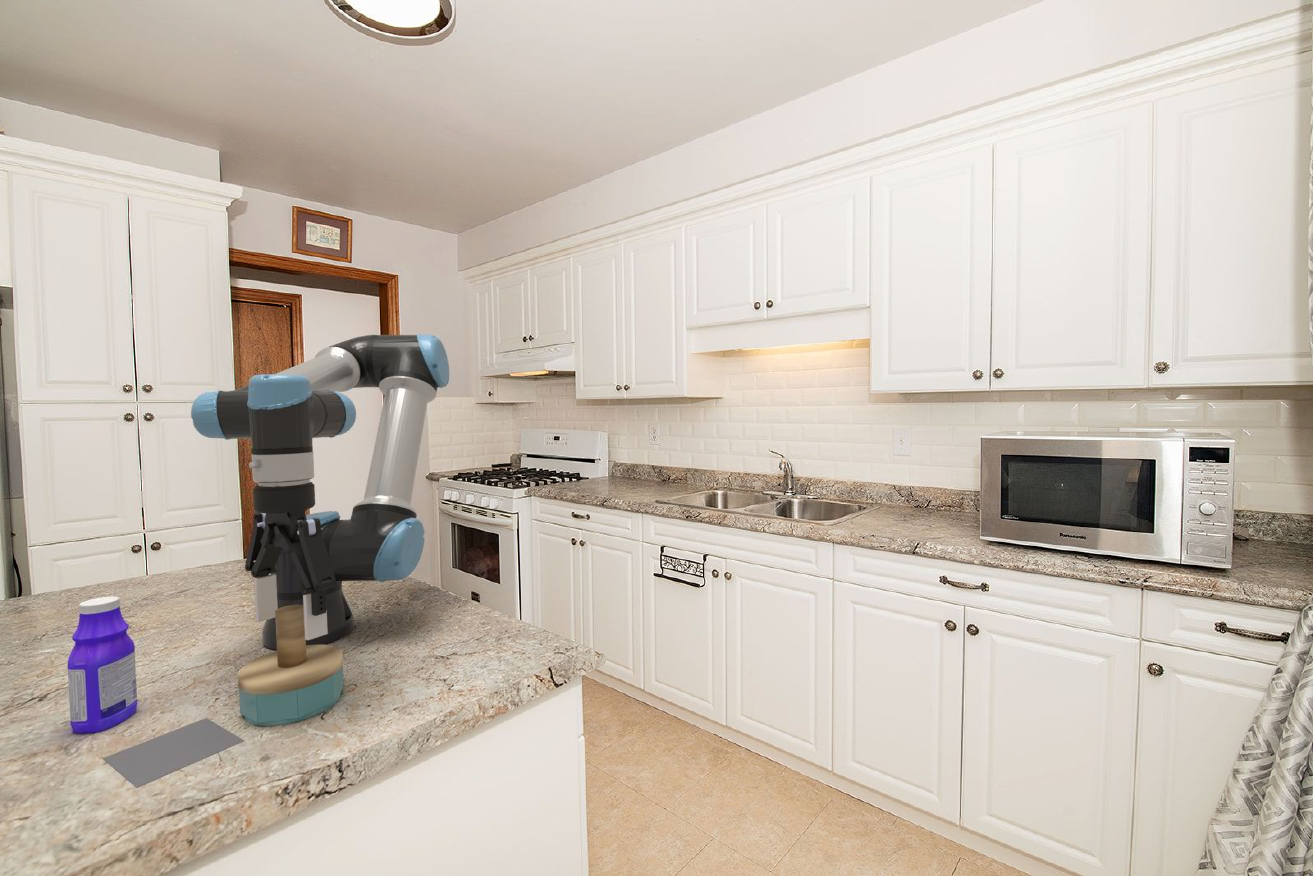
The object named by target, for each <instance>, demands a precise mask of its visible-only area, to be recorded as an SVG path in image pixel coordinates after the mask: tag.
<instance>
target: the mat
mask: <svg viewBox="0 0 1313 876" xmlns="http://www.w3.org/2000/svg"><path fill="white" fill-rule="evenodd" d="M243 742H245V739H242V738H241V737H239V736H237V735H236V734H234V733H233V732H231V731H229V730H227V729H226V728H224V727H222V726H221V725H219V724H217V723H216V722H214V721H213V720H211V719H210V718H208V717H205V718H202V719H200V720H197V721H195V722H192V723H190V724H187V725H185V726H182V727H178V728H177V729H174V730H172V731H169V732H167V733H164V734H162V735H159V736H156V737H153V738H151V739H149V740H146V741H143V742H141V743H138V744H135V745H133V746H130V747H127V748H126V749H123V750H120V751H117V752H115V753H112V754H109V755H108V756H105V757H103V758H102V760H104V761H105V763H107V764H108V765H109V766H110V767H112V768H113V769H114V770H116V772H118V773H119V774H120V775H121V776H122V777H124V778H125V779H126V780H127V781H128V782H129V783H130V784H131V785H132V786H134V787H135V788H140V787H143V786H145V785H147V784H150V783H151V782H154V781H156V780H159V779H160V778H163V777H165V776H168V775H170V774H173V773H174V772H176V771H177V772H178V771H179V770H181V769H184V768H186V767H189V766H190V765H193V764H195V763H197V762H199V761H202V760H204V759H207V758H208V757H211V756H213V755H215V754H218V753H220V752H222V751H225V750H227V749H229V748H231V747H234V746H237V745H239V744H240V743H243Z"/></svg>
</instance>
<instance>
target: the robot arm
mask: <svg viewBox="0 0 1313 876" xmlns="http://www.w3.org/2000/svg"><path fill="white" fill-rule="evenodd" d="M449 382H450V366H449V359H448V355H447V351H446V347H445V346H444V344H443V342H442V341H441V339H440V338H439V337H437V336H436V335H432V334H421V333H416V334H368V335H361V336H356V337H353V338H350V339H347V340H344V341H341V342H338V343H336V344H332V345H329V346H328V347H325V348H322V349H320V350H319V351H318V352H317V353H316V354H315V356H314V358H311V359H309V360H307V361H305V362H302V363H301V362H300V363H299V364H297V365H295V366H292V367H290V368H289V367H288V368H287V369H285V370H282V371H280V372H277V373H274V374H272V373H270V374H268V373H267V374H255V375H253V376H252V377H250V379H249V381H248V384H247V385H245V386H242V387H240V388H236V389H234V390H229V391H226V390H225V391H224V390H217V391H207V392H204V393H200V394H199V395H198V396H197V397H196V398H195V399H194V401H193V403H192V406H191V411H190V417H191V419H192V425H193V427H194V428H195V430H196V431H197V432H198V433H199V434H200V435H201V436H203V437H205V438H209V439H224V440H225V441H228V440H235V439H236V440H237V439H238V440H239V439H240V440H242V439H243V440H244V439H250V445H251V448H250V452H251V453H250V454H251V462H249V463H248V467H249V468H250V469H251V472H252V481H253V482H254V483H257V485H255V486H254V487H253V488H252V501H253V510H254V511H255V512H254V513H253V514H252V515H253V516H252V531H251V536H250V539H249V541H250V542H249V544H248V550H247V555H246V560H245V564H244V570H245V571H246V572H250V575H251V577H252V578H253V583H254V602H255V603H254V606H255V622H257V623H260V622H261V623H262V622H264V621H265V622H264V625H263V628H262V633H261V635H262V645H263V646H264V647H265V648H266V649H267V648H268V649H270V650H275V651H277V641H276V620H275V610H277V609H279V608H281V607H284V606H289V605H303V606H304V627H305V640H306V645H327V644H329V643H331V642H335V641H338V640H339V639H342V638H344V637H345V636H347V635H349V634H350V633H351V632H352V631H353V630H354V626H355V624H354V615H353V612H352V610H351V608H350V606H349V603H348V600H347V598H346V595H345V594H344V591H343V582H380V583H382V582H383V583H384V582H387V581H400V580H403V579H405V578H406V579H407V577H409V576H410V575H411V574H412V573H413V572H414V571H415V569H416V567H417V566H418V564H419V562H420V560H421V557H422V554H423V551H424V548H425V547H424V546H425V537H424V536H425V529H424V528H425V527H424V524H423V523H422V521H420V519H417V517H418V515H417V514H418V513H417V511H416V510H415V509H414V508H413V507H412V506H411V502H412V497H413V491H414V486H415V484H414V483H415V481H416V480H415V478H416V472H417V469H418V468H417V467H418V462H419V461H418V460H419V455H420V450H421V443H422V436H423V431H424V426H425V425H424V424H425V419H426V415H427V414H426V412H427V407H428V404H429V403H431V402H433V401H434V400H435V399H436V396H437V392H438V388H440V389H442V388H445V387H447V386H448V384H449ZM355 388H356V389H358V388H359V389H360V388H361V389H362V388H378V389H379V391H380V392H381V393H382V395H384V397H383V401H382V402H383V403H382V407H381V412H380V417H379V421H378V426H377V432H376V437H375V442H374V446H373V447H374V448H373V453H372V456H371V460H370V461H371V462H370V467H369V471H368V477H367V481H366V486H365V491H364V496H363V500H361V501H359V502H358V503H356V504H355V505H353V507H352V512H351V515H350V519H341V515H340V514H339V511H337V510H334V511H333V510H330V511H321V512H313V513H309V514H306V511H307V510H309V509H312V508H314V507H315V505H316V489H315V484H314V482H312V481H311V480H312V479H314V478H315V463H314V462H315V461H314V451H313V450H314V449H313V448H314V447H313V439H318V438H335V437H336V436H341V435H343V434H346V433H348V431H350V430H351V429H352V428H353V426H354V424H355V422H356V419H357V411H356V406H355V404H354V402H353V400H351V398H350V397H348V396H347V395H346V394H344V393H343V392H348V391H349V390H350V391H351V390H352V389H355Z"/></svg>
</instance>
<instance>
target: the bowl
mask: <svg viewBox="0 0 1313 876" xmlns="http://www.w3.org/2000/svg"><path fill="white" fill-rule="evenodd" d="M344 686H345V684H344V665H343V666H342V668H341V669H340V670H339V671H338V672H337V673H335V674H334V675H333V676H331V677H329V678H327V679H325V680H323V681H321V682H319V683H316V684H314V685H311V686H308V687H305V688H301V689H298V690H294V691H289V692H283V693H276V694H250V693H246V692H244V691H242V690H240V688H239V687H238V694H239V695H238V697H239V700H238V701H239V714H241V715H243V716H244V720H245V721H246V722H247V723H249V724H251V725H254V726H260V727H270V726H271V727H272V726H273V727H274V726H283V725H287V724H288V725H289V724H292V723H297V722H300V721H303V720H306V719H309V718H312V717H314V716H317V715H319V714H321V713H323V712H325V711H327V710H328V709H330V708H331V707H333V706H334V705H335V704H336V703H337V702H338V701H339V699H340V698H341V695H342V694H341V692H342V690H343V689H344Z"/></svg>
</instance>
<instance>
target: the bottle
mask: <svg viewBox="0 0 1313 876" xmlns="http://www.w3.org/2000/svg"><path fill="white" fill-rule="evenodd" d="M78 607H79V609H78V615H79V618H78V623H77V628H76V630H75V632H74V633H73V634H72V636H71V639H72V640H73V642H74V645H73V647H72V649H71V651H70V654H69V656H68V660H67V678H68V697H69V699H68V700H69V715H70V716H69V717H70V721H69V723H70V727H71V729H72V731H73V732H74V733H76V734H90V733H91V734H93V733H98V732H102V731H105V730H109V729H111V728H113V727H115V726H117V725H119V724H121V723H122V722H124V721H126V720H127V719H129V718H130V717H132V715H134V713H135V712H136V710H137V707H138V691H137V690H138V688H137V686H138V685H137V671H136V670H137V669H136V667H137V666H136V645H135V642H134V640H133V639H132V638H131V637H130V635H129V634H128V633H127V631H128V629H129V628H130V626H129V624H128V622H126V620H125V619H124V617H123V615H122V612H121V604H120V597H119V596H103V597H96V598H93V599H89V600H85V601H82V602H80V603H79V605H78Z"/></svg>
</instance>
